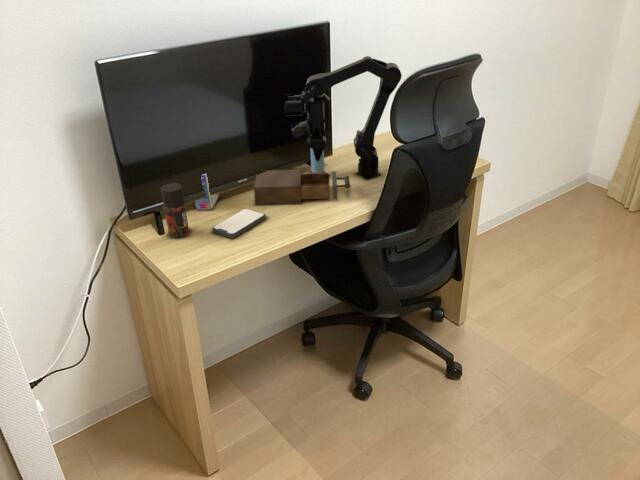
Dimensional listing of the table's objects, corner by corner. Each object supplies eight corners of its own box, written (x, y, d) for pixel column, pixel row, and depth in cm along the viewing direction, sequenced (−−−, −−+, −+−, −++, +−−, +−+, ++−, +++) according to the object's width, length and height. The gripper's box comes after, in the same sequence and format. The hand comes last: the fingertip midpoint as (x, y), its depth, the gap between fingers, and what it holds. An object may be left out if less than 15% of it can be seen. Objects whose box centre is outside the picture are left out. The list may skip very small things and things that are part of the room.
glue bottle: (319, 166, 207) (318, 135, 201) (326, 171, 203) (325, 139, 197) (308, 170, 205) (307, 138, 199) (315, 174, 201) (314, 142, 195)
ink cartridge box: (203, 196, 193) (197, 155, 186) (219, 196, 193) (214, 156, 186) (194, 209, 185) (188, 167, 178) (211, 210, 184) (205, 168, 177)
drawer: (348, 183, 197) (348, 170, 195) (350, 198, 186) (350, 185, 184) (295, 185, 197) (294, 172, 195) (294, 200, 186) (293, 187, 184)
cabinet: (301, 186, 198) (301, 169, 195) (301, 203, 186) (300, 185, 183) (258, 187, 198) (257, 170, 195) (255, 205, 186) (253, 187, 183)
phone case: (245, 212, 183) (210, 232, 171) (245, 207, 182) (210, 227, 171) (267, 218, 179) (233, 240, 167) (267, 214, 178) (232, 235, 166)
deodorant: (171, 228, 174) (163, 183, 167) (191, 228, 174) (183, 182, 167) (166, 238, 169) (158, 192, 162) (186, 238, 169) (178, 191, 161)
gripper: (292, 107, 202) (295, 149, 210) (291, 124, 186) (293, 169, 194) (324, 106, 202) (325, 148, 210) (325, 123, 186) (326, 168, 194)
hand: (317, 158), depth 202 cm, fingers closed on glue bottle, 4 cm apart
